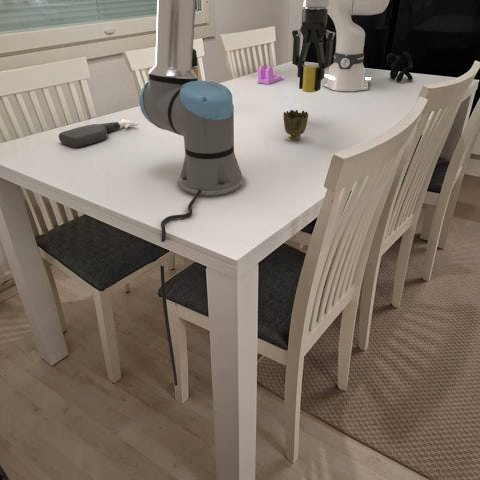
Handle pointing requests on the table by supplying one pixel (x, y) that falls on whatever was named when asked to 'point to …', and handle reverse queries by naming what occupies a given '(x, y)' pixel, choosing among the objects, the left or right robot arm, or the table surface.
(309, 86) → the tin
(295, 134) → the cup
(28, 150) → the table surface
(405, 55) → the squiggle
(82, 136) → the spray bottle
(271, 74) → the bracket
